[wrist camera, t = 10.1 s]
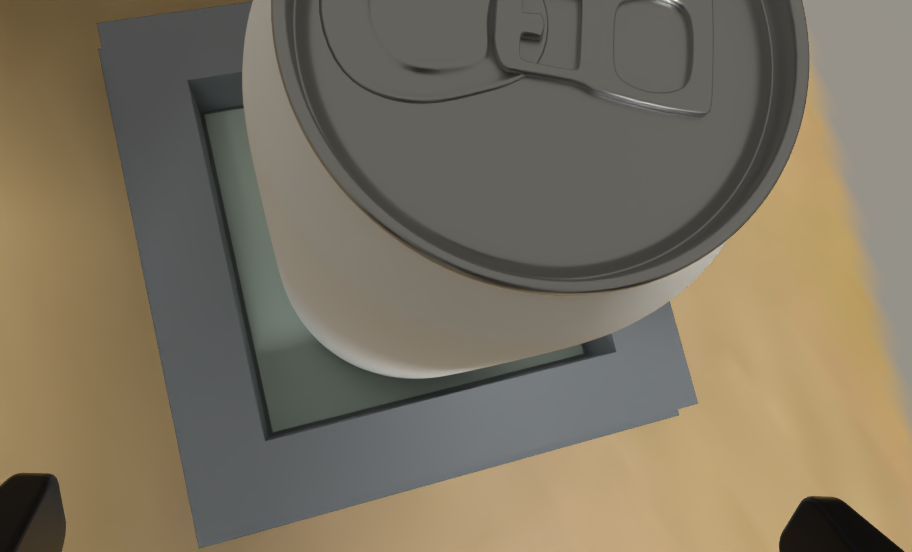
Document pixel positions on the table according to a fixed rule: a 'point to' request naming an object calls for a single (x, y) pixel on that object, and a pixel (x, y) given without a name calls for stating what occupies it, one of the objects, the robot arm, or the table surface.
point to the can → (509, 163)
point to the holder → (288, 340)
